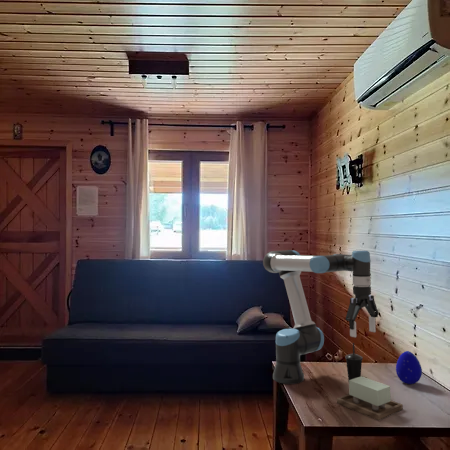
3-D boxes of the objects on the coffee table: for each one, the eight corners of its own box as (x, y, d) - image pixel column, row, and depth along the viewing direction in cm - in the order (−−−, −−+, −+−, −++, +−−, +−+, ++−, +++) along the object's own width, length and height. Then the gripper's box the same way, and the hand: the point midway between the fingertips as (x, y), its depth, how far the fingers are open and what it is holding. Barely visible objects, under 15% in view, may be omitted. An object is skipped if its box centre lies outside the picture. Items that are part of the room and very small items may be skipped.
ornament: (424, 383, 192) (423, 350, 192) (418, 389, 185) (417, 355, 185) (399, 377, 199) (398, 347, 199) (393, 383, 192) (392, 351, 192)
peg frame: (336, 403, 171) (336, 394, 171) (360, 393, 181) (360, 385, 181) (378, 420, 155) (378, 411, 155) (402, 409, 164) (402, 400, 164)
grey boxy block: (390, 401, 164) (390, 386, 164) (377, 406, 160) (377, 390, 160) (361, 390, 176) (361, 376, 176) (349, 394, 171) (349, 380, 172)
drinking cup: (364, 390, 185) (363, 345, 185) (346, 389, 186) (345, 345, 187) (362, 383, 192) (361, 341, 192) (345, 383, 194) (344, 340, 194)
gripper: (350, 289, 169) (352, 340, 169) (386, 283, 184) (387, 331, 183) (336, 287, 176) (337, 337, 175) (371, 282, 190) (372, 328, 190)
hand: (363, 334), depth 179 cm, fingers open, 13 cm apart
